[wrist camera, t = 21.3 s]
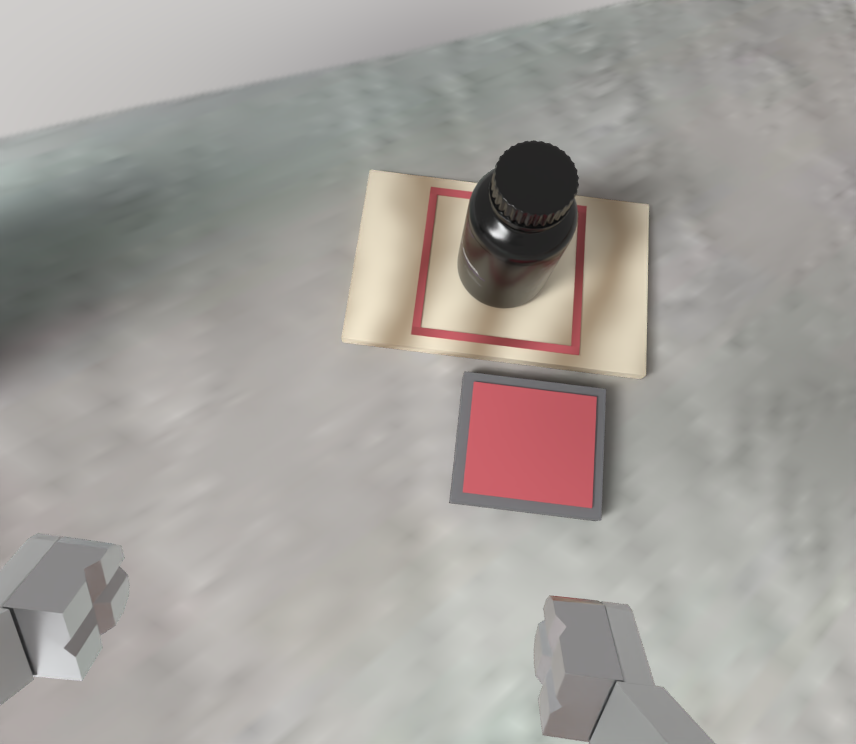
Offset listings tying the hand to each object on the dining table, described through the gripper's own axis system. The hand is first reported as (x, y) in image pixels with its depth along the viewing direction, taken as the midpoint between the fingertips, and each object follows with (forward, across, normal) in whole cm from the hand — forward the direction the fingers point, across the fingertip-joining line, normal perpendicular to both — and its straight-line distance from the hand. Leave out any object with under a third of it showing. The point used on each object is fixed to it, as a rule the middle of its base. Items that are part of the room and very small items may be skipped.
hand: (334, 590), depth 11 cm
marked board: (+35, -6, +6) cm, 36 cm away
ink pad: (+26, -9, +15) cm, 31 cm away
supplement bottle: (+35, -6, +5) cm, 36 cm away
